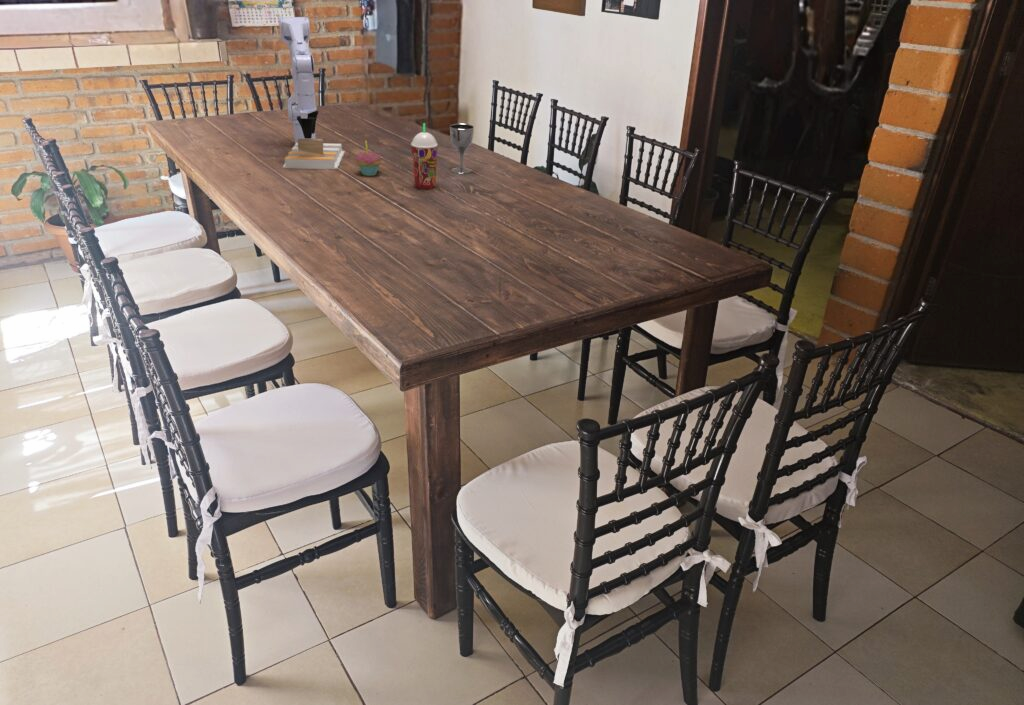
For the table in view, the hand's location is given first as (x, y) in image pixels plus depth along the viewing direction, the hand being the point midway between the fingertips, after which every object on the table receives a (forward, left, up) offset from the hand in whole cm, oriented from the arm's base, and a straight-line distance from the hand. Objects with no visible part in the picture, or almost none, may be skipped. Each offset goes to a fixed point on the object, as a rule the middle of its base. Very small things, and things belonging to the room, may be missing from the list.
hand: (309, 135), depth 252 cm
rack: (-6, 0, -10) cm, 12 cm away
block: (0, 0, -9) cm, 9 cm away
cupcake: (+9, +20, -10) cm, 24 cm away
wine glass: (+3, +51, -10) cm, 52 cm away
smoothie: (+22, +39, -10) cm, 46 cm away
